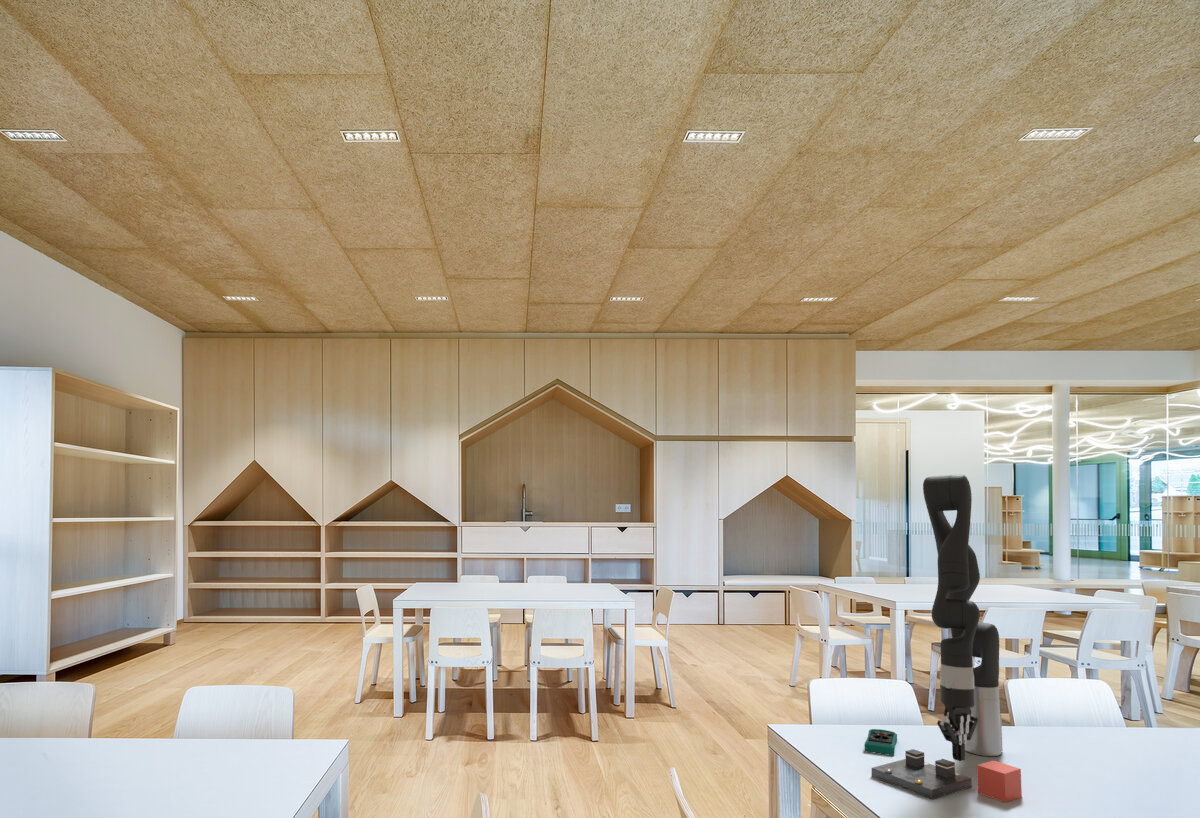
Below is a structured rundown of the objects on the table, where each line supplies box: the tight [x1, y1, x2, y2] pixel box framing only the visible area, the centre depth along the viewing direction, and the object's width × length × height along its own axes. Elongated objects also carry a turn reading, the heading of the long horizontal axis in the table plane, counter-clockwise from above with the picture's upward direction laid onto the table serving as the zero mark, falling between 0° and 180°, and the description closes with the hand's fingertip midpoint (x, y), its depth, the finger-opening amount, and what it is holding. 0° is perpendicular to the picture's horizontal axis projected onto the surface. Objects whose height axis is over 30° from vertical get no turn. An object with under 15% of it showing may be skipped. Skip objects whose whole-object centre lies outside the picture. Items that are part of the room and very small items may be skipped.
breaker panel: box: [871, 758, 973, 800], centre depth 180 cm, size 15×16×3 cm
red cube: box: [976, 760, 1023, 803], centre depth 173 cm, size 6×6×6 cm
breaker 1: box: [905, 748, 925, 768], centre depth 186 cm, size 3×3×3 cm
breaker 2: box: [934, 758, 956, 778], centre depth 179 cm, size 3×3×3 cm
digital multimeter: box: [864, 728, 898, 756], centre depth 207 cm, size 7×15×3 cm, turn 156°
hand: (958, 759), depth 183 cm, fingers closed
